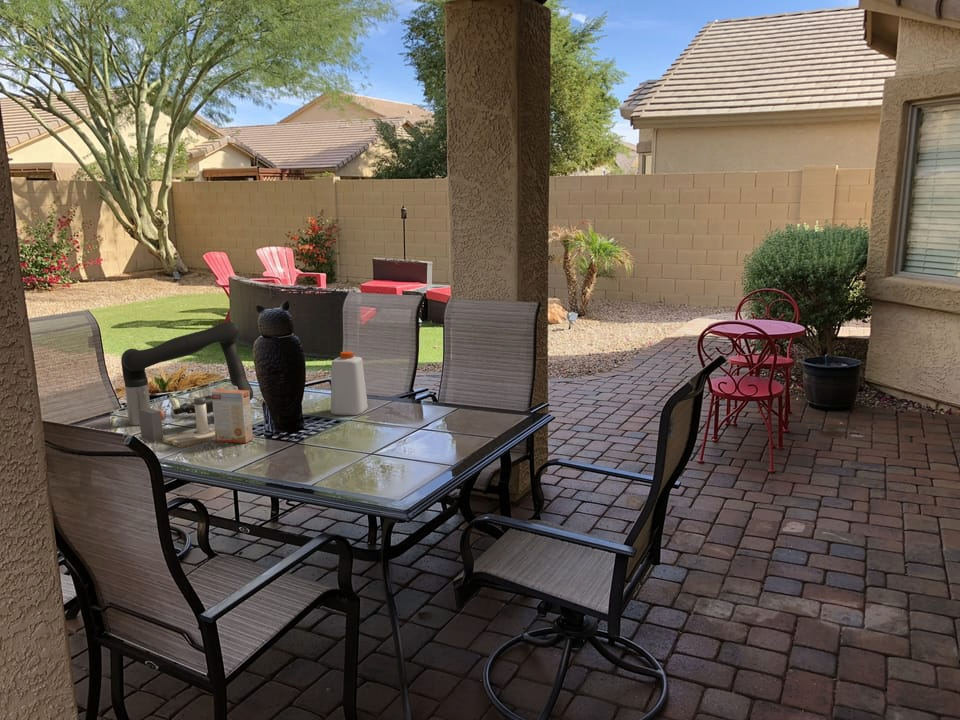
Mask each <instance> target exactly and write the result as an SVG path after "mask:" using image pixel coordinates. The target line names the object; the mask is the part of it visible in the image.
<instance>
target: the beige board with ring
mask: <svg viewBox="0 0 960 720" xmlns="http://www.w3.org/2000/svg"><path fill="white" fill-rule="evenodd" d="M162 439H163V440H162V443H165V442H167V443H166V444H168V443H170V444H169V445H171V444H173V445H172V446H174V445H177V446H180V447H179V448H181V447H183V448H185V447H184V446H187V447H189V446H188V445H191V446H193V445H192V444H194V445H196V444H195V443H198V444H200V443H199V442H202V443H204V442H203V441H205V442H208V441H207V440H209V441H212V440H211V439H213V440H216V437H215V428H211V427H208V431H207V432H204V433H198V432H197V429H193V430H191V431H187V432H183V433H178V434H174V435H171V436H167V437H163V438H162ZM177 446H176V447H177Z"/></svg>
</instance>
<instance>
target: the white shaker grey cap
mask: <svg viewBox="0 0 960 720" xmlns="http://www.w3.org/2000/svg"><path fill="white" fill-rule="evenodd" d="M193 402H194V404H195V413H194V414H195V424H196V430H197V432H198V433H204V432H207V431H208V428H209V422H208V413H207V411H206V398H204V396H201V397H195V398H193Z"/></svg>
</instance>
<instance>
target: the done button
mask: <svg viewBox="0 0 960 720" xmlns="http://www.w3.org/2000/svg"><path fill="white" fill-rule="evenodd" d="M157 410H158V411H161V420H162V421H164V420H165V419H166V417H165V416H166V415H165V412H164V410H162V409H157Z"/></svg>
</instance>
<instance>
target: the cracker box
mask: <svg viewBox="0 0 960 720" xmlns="http://www.w3.org/2000/svg"><path fill="white" fill-rule="evenodd" d="M211 395H212V402H213V412H212V413H213V420H214V422H213V424H214V429H215V437H216V439H215V442H217V443H218V442H220V443H222V442H223V443H236V444H237V443H238V444H246V443H249V442H251V441H253V440H254V433H253V423H252V422H253V420H252V419H253V418H252V408H251V407H252V405H251V400H250V393H249V390H238V389H222V388H219V389H216V390H214V391H212V392H211Z"/></svg>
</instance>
